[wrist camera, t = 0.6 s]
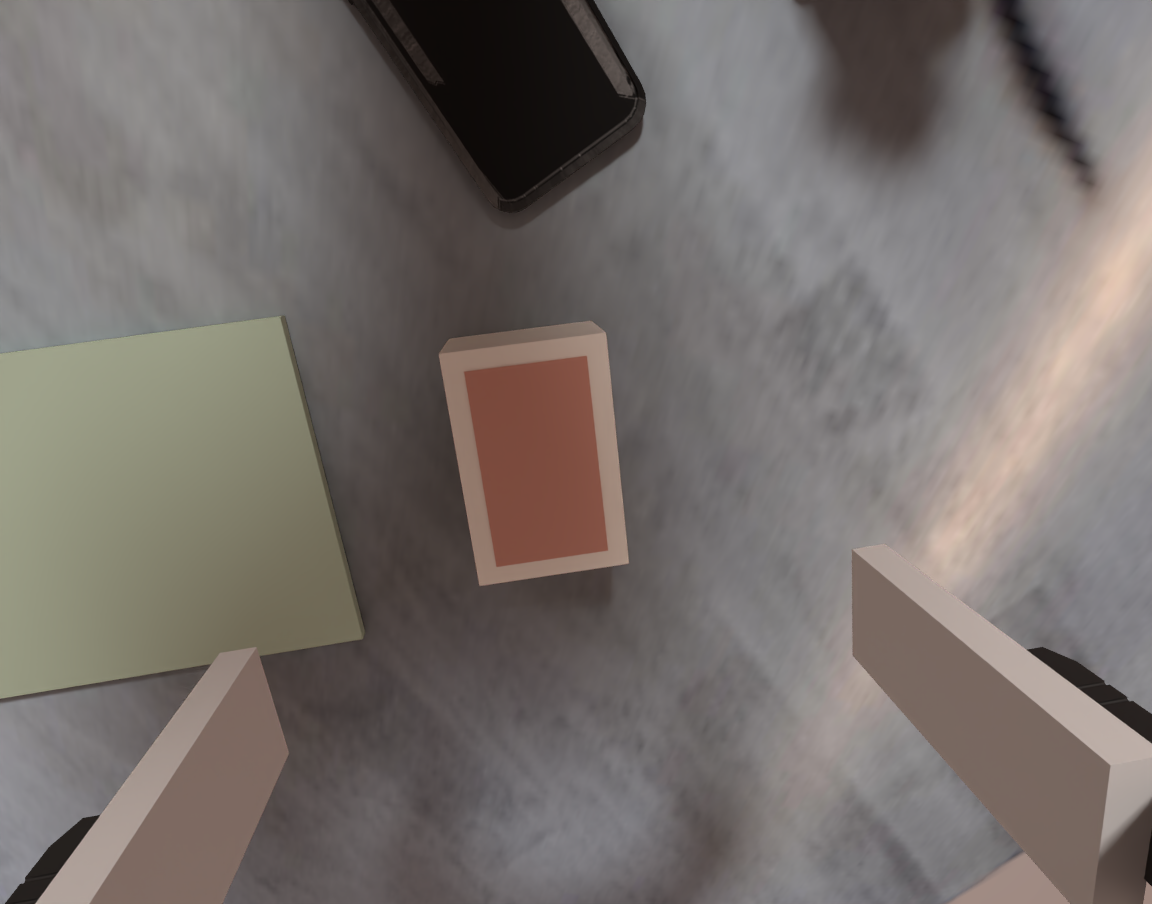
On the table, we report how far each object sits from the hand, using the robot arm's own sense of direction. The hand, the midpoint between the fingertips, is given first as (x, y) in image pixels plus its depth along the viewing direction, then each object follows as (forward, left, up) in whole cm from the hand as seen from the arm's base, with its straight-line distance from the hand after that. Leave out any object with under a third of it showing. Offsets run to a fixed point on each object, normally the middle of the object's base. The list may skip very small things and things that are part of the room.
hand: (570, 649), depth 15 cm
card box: (0, 0, -18) cm, 18 cm away
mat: (+1, -21, -18) cm, 28 cm away
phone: (-18, 0, -18) cm, 26 cm away
